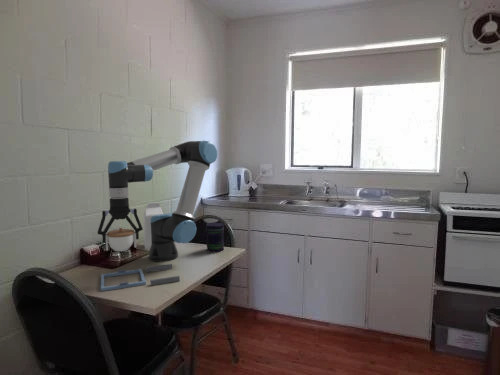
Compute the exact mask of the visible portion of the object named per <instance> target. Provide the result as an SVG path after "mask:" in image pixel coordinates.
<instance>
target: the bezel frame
mask: <svg viewBox="0 0 500 375" xmlns="http://www.w3.org/2000/svg"><path fill="white" fill-rule="evenodd" d="M138 273H139V276H140V280H141V281H136V282H129V283H128V281H124V282H119V284H116V285H115V284H114V285H110V286H109V285H108V286H105V278H109V277H116V276H123V275H125V276H126V275H130V274H138ZM100 278H101V279H100V292H104V291H113V290H118V289H126V288H131V287H138V286H143V285H144V286H145V285H147V281H146V278H145V275H144V272H143V269H142V268H138V269H131V270H126V269H119V270H118V271H115V272H109V273H101V274H100Z"/></svg>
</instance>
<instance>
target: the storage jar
mask: <svg viewBox="0 0 500 375" xmlns="http://www.w3.org/2000/svg"><path fill="white" fill-rule="evenodd" d="M205 226H206V251H207V252H208V251H209V252H208V253H221V251H222V252H223V250H224V251H225V249H224V248H225V240H224V233H225V227H224V223H223V222H216V221H215V222H209V223H206V225H205Z"/></svg>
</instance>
